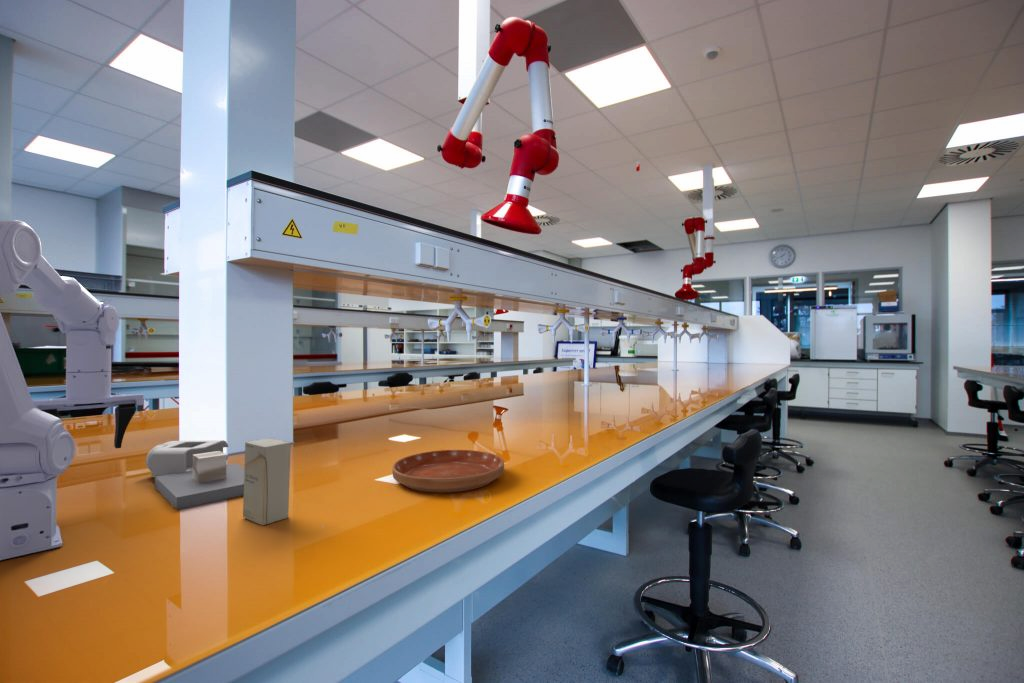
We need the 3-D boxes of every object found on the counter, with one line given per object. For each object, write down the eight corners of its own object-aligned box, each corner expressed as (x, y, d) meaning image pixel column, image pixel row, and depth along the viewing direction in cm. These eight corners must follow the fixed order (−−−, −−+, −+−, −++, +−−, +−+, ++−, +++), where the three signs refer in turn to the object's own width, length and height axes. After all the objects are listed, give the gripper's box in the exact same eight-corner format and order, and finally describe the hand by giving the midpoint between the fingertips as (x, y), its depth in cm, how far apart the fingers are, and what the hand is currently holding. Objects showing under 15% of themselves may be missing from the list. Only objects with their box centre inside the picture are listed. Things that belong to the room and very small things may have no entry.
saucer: (458, 505, 80) (458, 484, 80) (367, 484, 92) (367, 466, 92) (524, 474, 100) (524, 457, 100) (442, 460, 111) (442, 445, 111)
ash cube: (226, 477, 89) (226, 454, 89) (198, 482, 86) (198, 458, 86) (219, 473, 92) (219, 450, 92) (192, 478, 89) (192, 454, 89)
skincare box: (242, 518, 73) (242, 441, 74) (269, 509, 77) (269, 437, 77) (263, 526, 70) (264, 446, 70) (291, 517, 74) (291, 441, 74)
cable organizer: (135, 450, 93) (197, 449, 93) (176, 437, 105) (231, 436, 106) (135, 483, 93) (196, 482, 93) (176, 466, 105) (231, 465, 106)
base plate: (266, 490, 88) (266, 479, 88) (176, 509, 77) (176, 497, 77) (235, 472, 100) (235, 463, 100) (154, 486, 90) (155, 476, 90)
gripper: (138, 369, 87) (138, 441, 87) (27, 372, 77) (26, 454, 76) (145, 370, 82) (145, 446, 82) (28, 374, 72) (27, 461, 72)
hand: (88, 451), depth 79 cm, fingers open, 7 cm apart
